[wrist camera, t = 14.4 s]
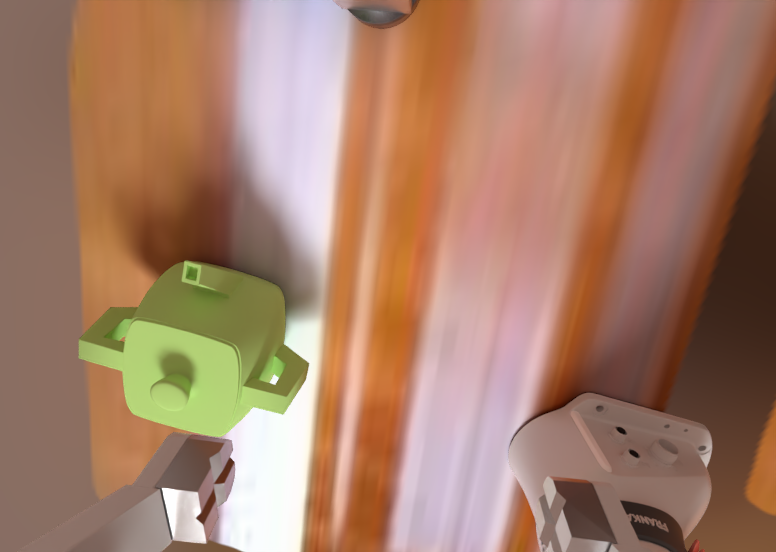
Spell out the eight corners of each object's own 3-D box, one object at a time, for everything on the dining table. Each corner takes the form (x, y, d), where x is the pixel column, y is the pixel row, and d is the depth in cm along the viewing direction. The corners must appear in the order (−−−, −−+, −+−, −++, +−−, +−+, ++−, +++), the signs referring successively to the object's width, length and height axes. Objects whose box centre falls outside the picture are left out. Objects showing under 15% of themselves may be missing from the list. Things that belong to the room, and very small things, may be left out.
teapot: (146, 195, 41) (36, 241, 30) (342, 253, 42) (311, 320, 31) (140, 344, 49) (51, 427, 37) (306, 390, 50) (271, 485, 38)
